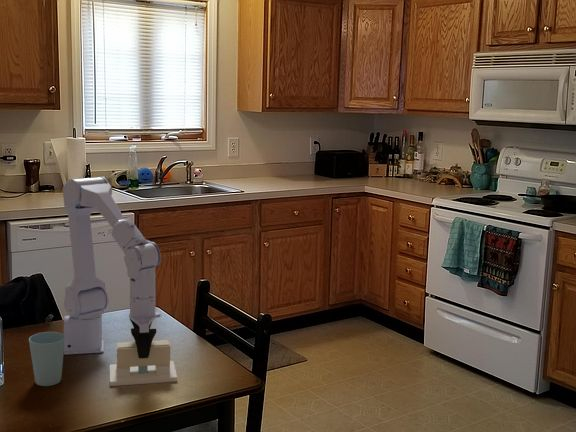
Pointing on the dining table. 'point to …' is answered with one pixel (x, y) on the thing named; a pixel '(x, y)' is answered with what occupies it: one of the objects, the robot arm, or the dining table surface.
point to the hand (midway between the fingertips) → (142, 351)
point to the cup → (47, 357)
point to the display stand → (142, 374)
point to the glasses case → (129, 358)
